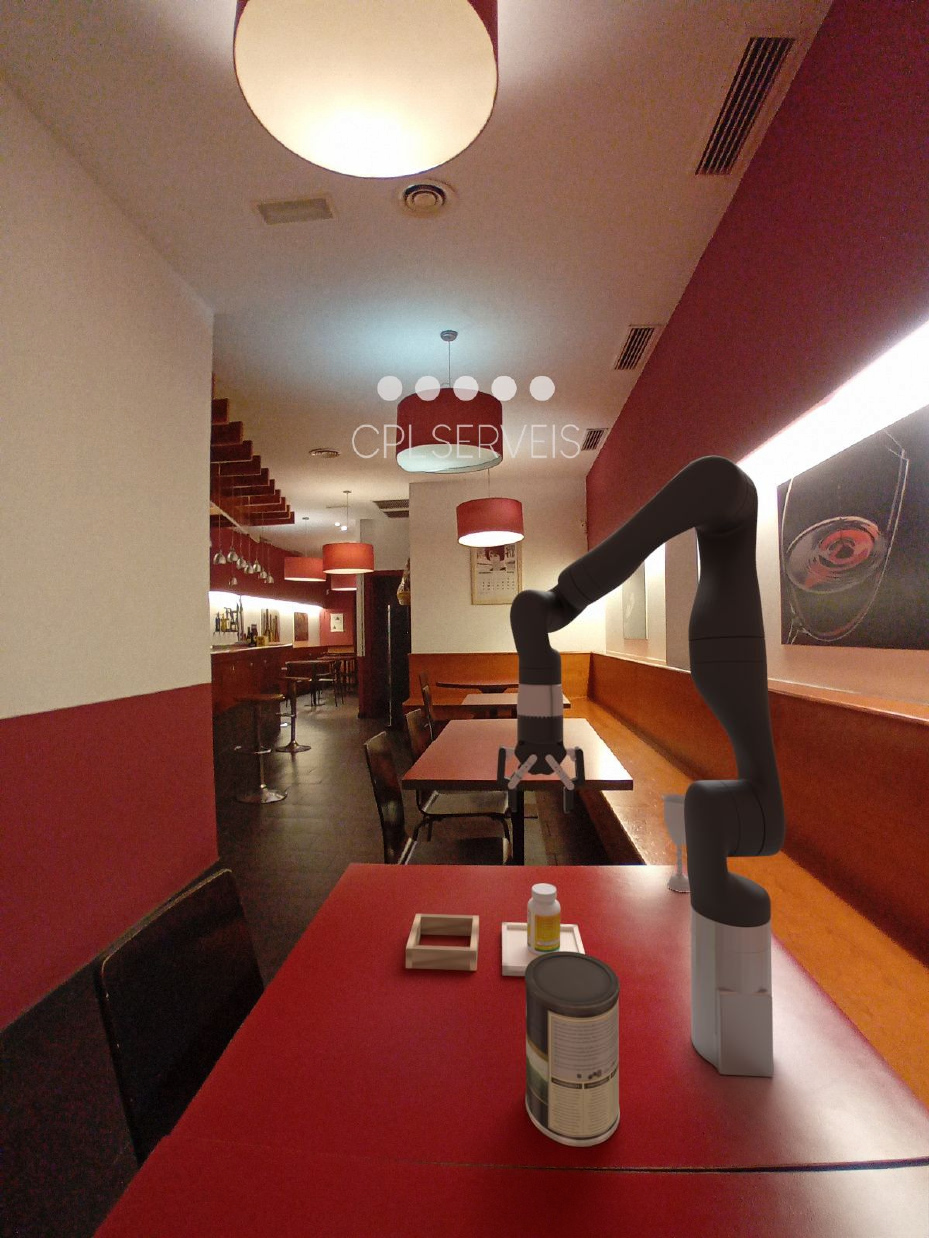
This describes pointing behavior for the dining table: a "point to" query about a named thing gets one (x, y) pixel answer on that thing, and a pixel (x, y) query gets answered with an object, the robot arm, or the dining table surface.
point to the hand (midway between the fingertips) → (540, 811)
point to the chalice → (676, 837)
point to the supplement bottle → (543, 920)
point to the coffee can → (572, 1047)
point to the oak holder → (443, 954)
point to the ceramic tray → (520, 955)
